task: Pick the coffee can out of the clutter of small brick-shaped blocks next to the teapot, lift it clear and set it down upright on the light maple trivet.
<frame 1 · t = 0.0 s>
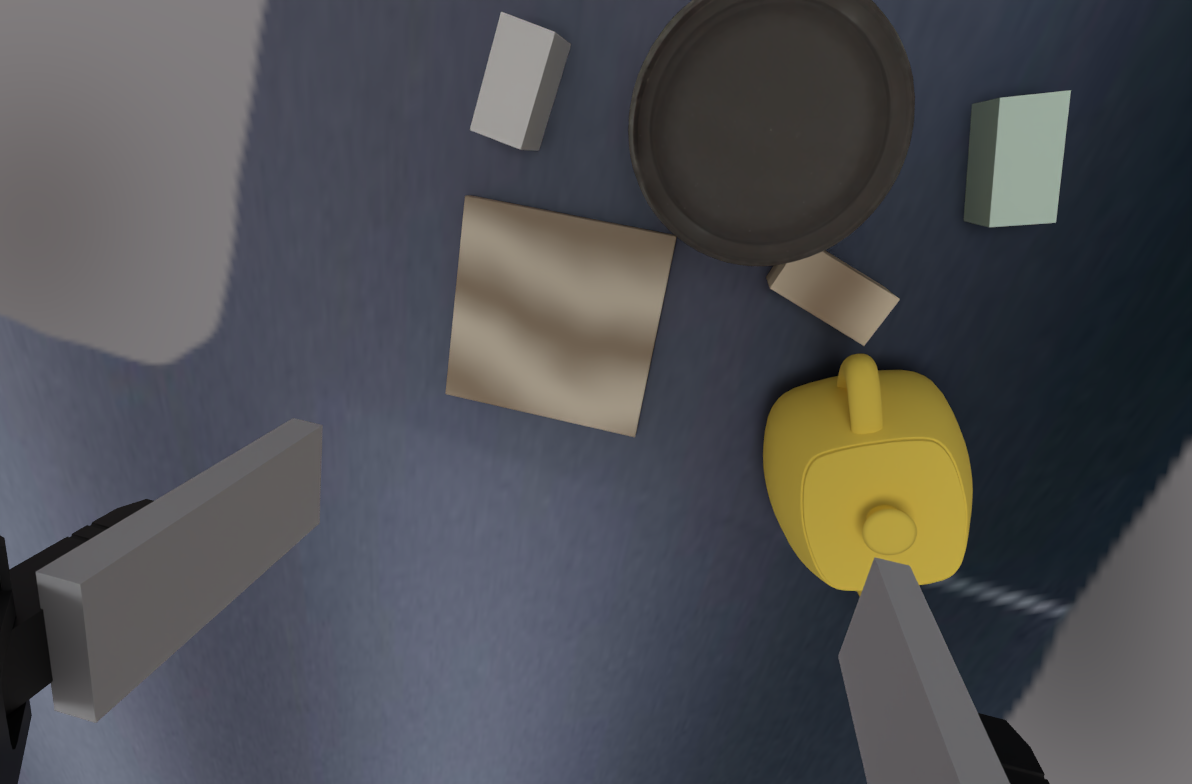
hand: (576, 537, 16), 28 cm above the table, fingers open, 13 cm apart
off-white brick: (531, 90, 40), on the table
coffee can: (751, 138, 38), on the table
beech brick: (824, 281, 40), on the table
teapot: (852, 456, 43), on the table
pale green brick: (997, 161, 37), on the table
trivet: (555, 318, 44), on the table
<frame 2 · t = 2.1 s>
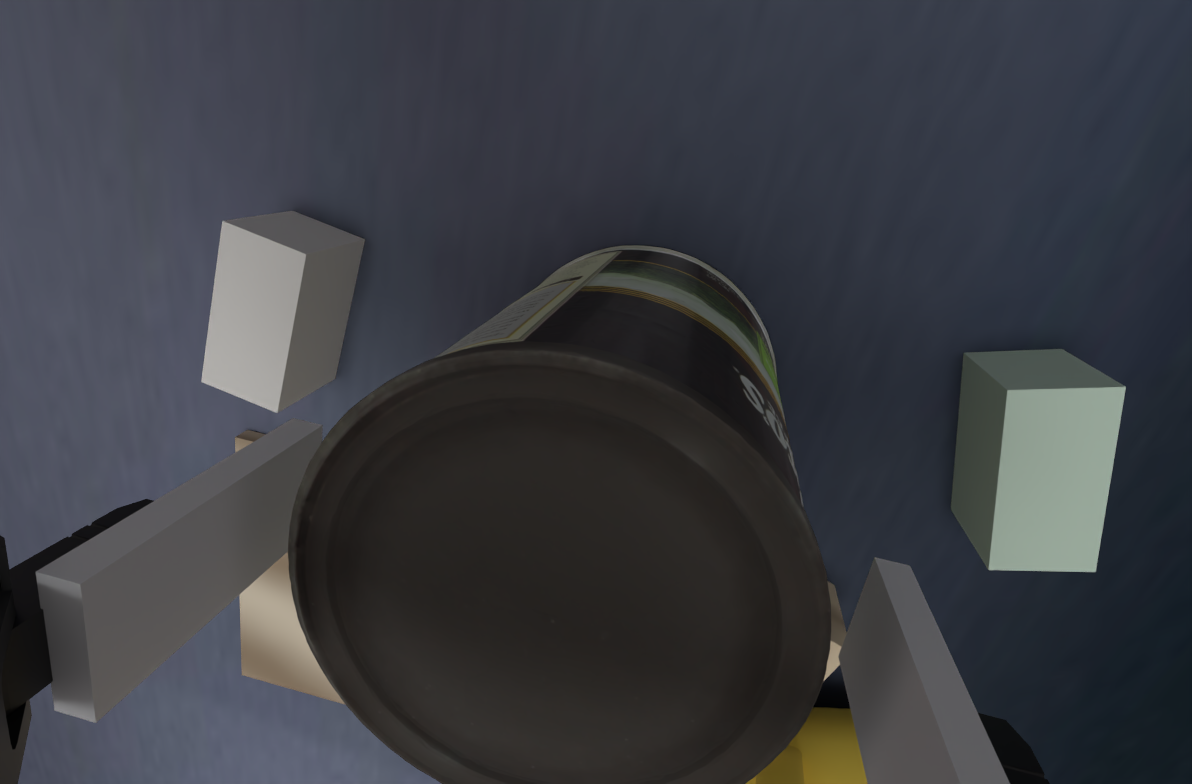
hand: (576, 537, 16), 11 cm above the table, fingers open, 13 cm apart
off-white brick: (316, 297, 27), on the table
coffee can: (635, 378, 26), on the table
beech brick: (748, 571, 28), on the table
pale green brick: (1002, 432, 24), on the table
trivet: (380, 589, 31), on the table
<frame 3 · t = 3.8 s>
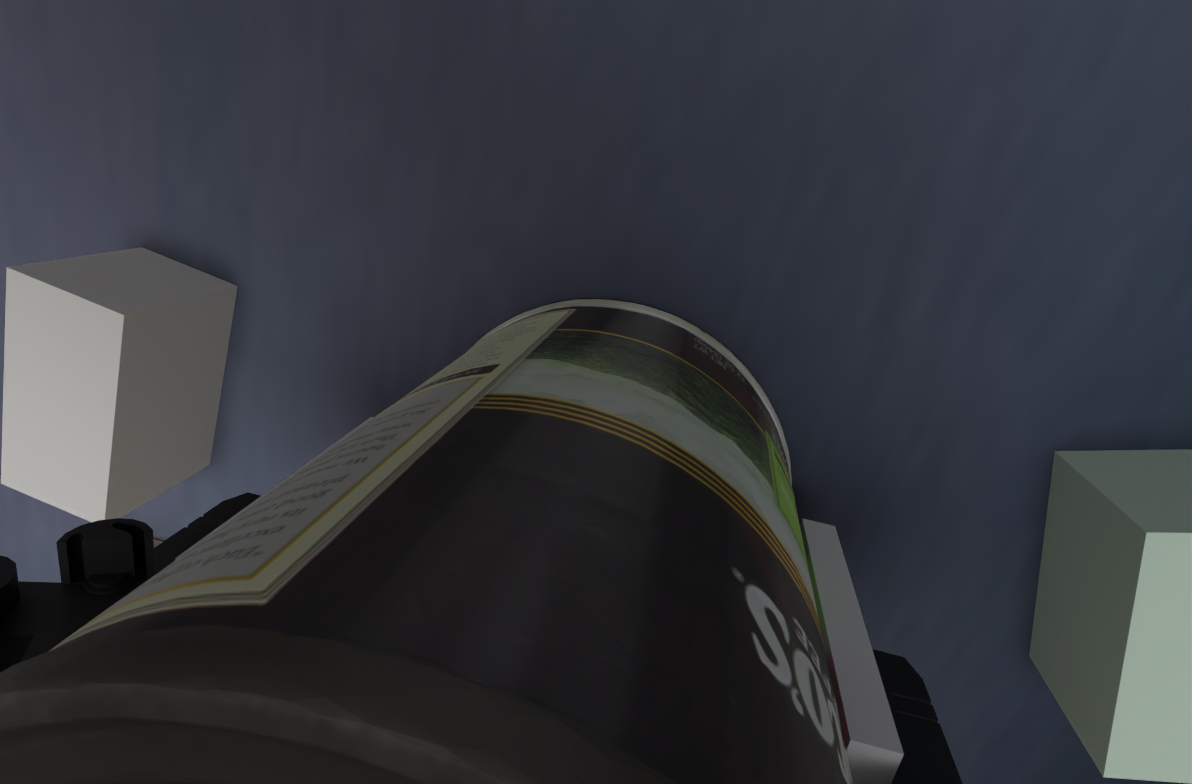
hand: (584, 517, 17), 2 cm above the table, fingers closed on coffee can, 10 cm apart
off-white brick: (180, 360, 20), on the table
coffee can: (600, 474, 19), on the table, touching gripper
pale green brick: (1104, 557, 17), on the table
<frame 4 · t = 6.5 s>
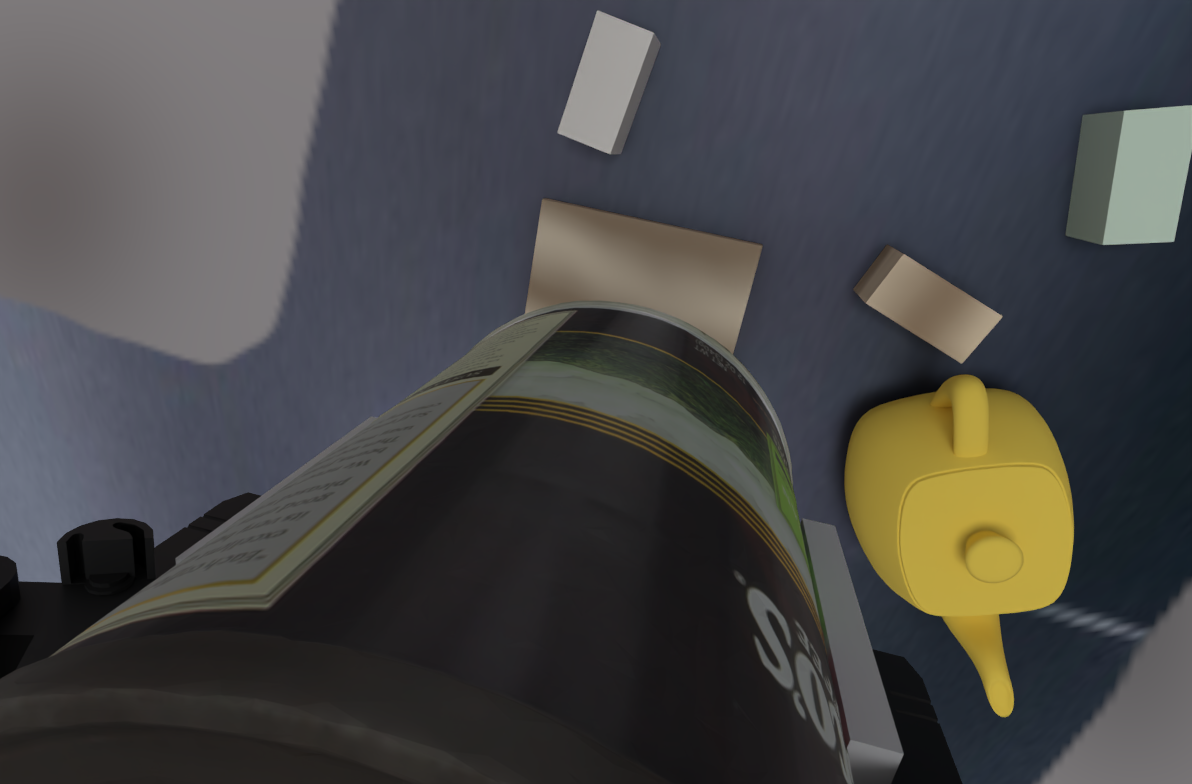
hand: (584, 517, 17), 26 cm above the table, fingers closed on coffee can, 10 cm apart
off-white brick: (615, 90, 38), on the table
coffee can: (601, 475, 19), point 24 cm above the table, touching gripper
beech brick: (913, 294, 39), on the table
teapot: (931, 473, 42), on the table
pale green brick: (1105, 174, 35), on the table
trivet: (629, 326, 42), on the table
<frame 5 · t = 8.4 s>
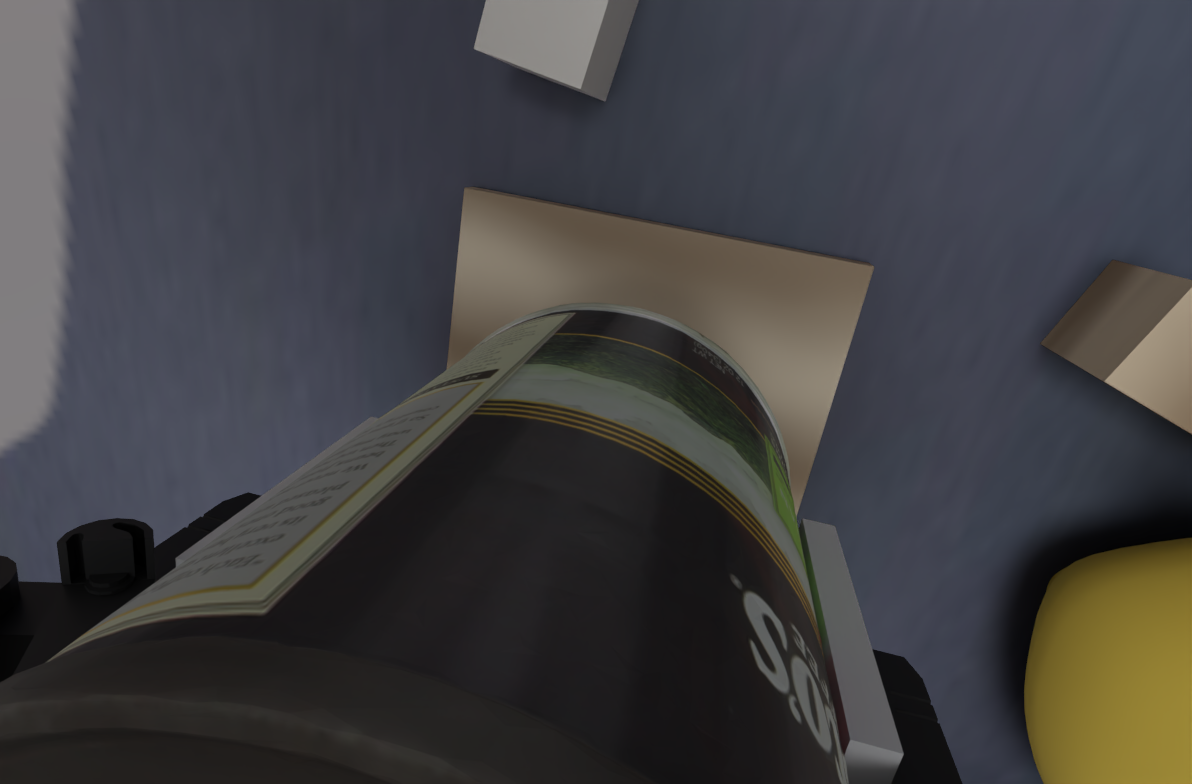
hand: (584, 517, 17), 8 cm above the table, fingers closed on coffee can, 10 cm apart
coffee can: (599, 477, 19), point 5 cm above the table, touching gripper
beech brick: (1157, 352, 21), on the table
teapot: (1165, 658, 24), on the table
trivet: (627, 408, 24), on the table
when the fingers open (4 cm above the table, at t = 9.6 s): coffee can drops 1 cm, resting on trivet.
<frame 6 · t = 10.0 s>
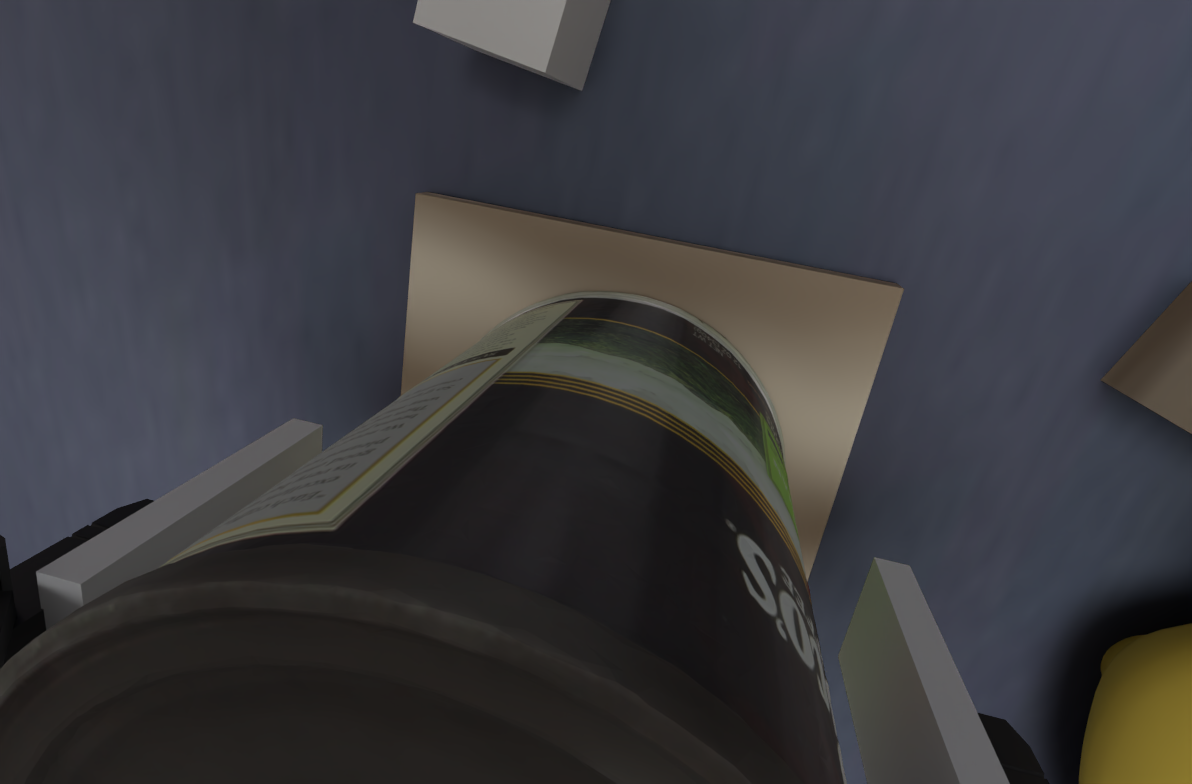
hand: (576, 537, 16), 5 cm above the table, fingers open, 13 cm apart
coffee can: (604, 457, 20), point 1 cm above the table, touching trivet
trivet: (611, 449, 21), on the table
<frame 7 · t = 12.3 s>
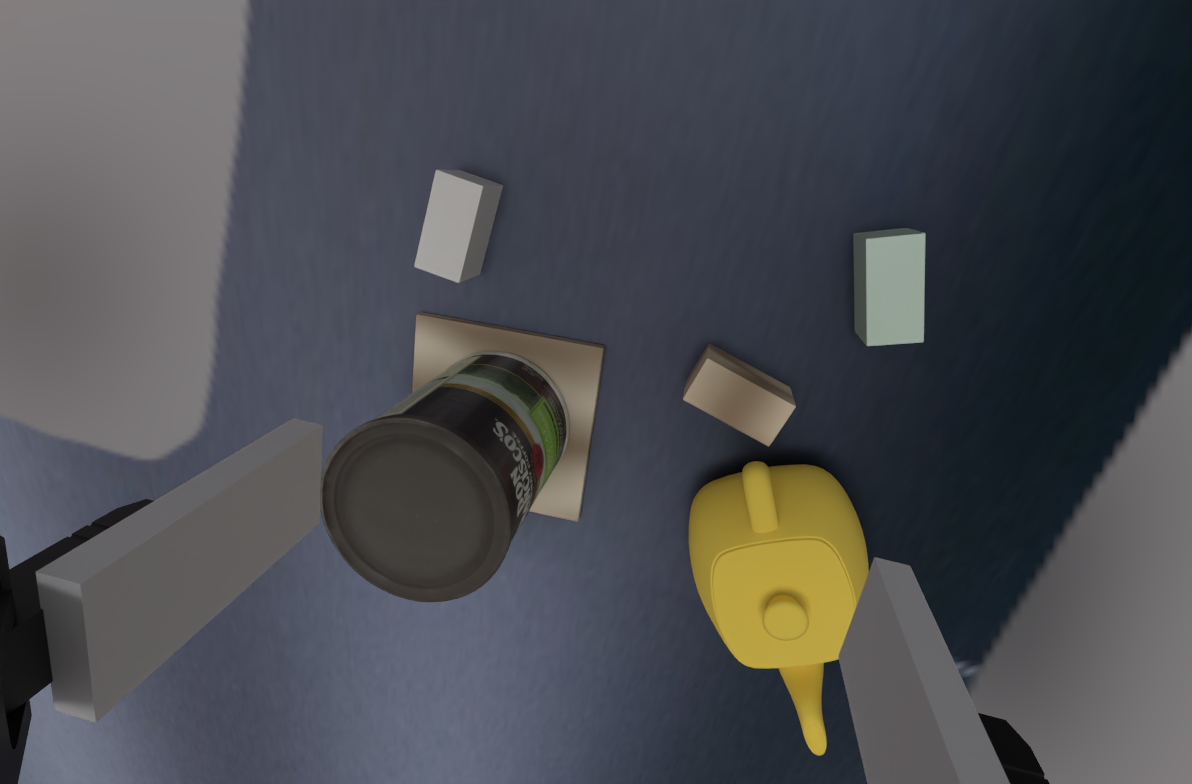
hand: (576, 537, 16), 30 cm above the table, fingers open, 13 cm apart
off-white brick: (470, 223, 45), on the table
coffee can: (498, 419, 48), point 1 cm above the table, touching trivet
beech brick: (737, 383, 45), on the table
teapot: (774, 535, 48), on the table
pale green brick: (879, 280, 41), on the table
trivet: (502, 417, 48), on the table
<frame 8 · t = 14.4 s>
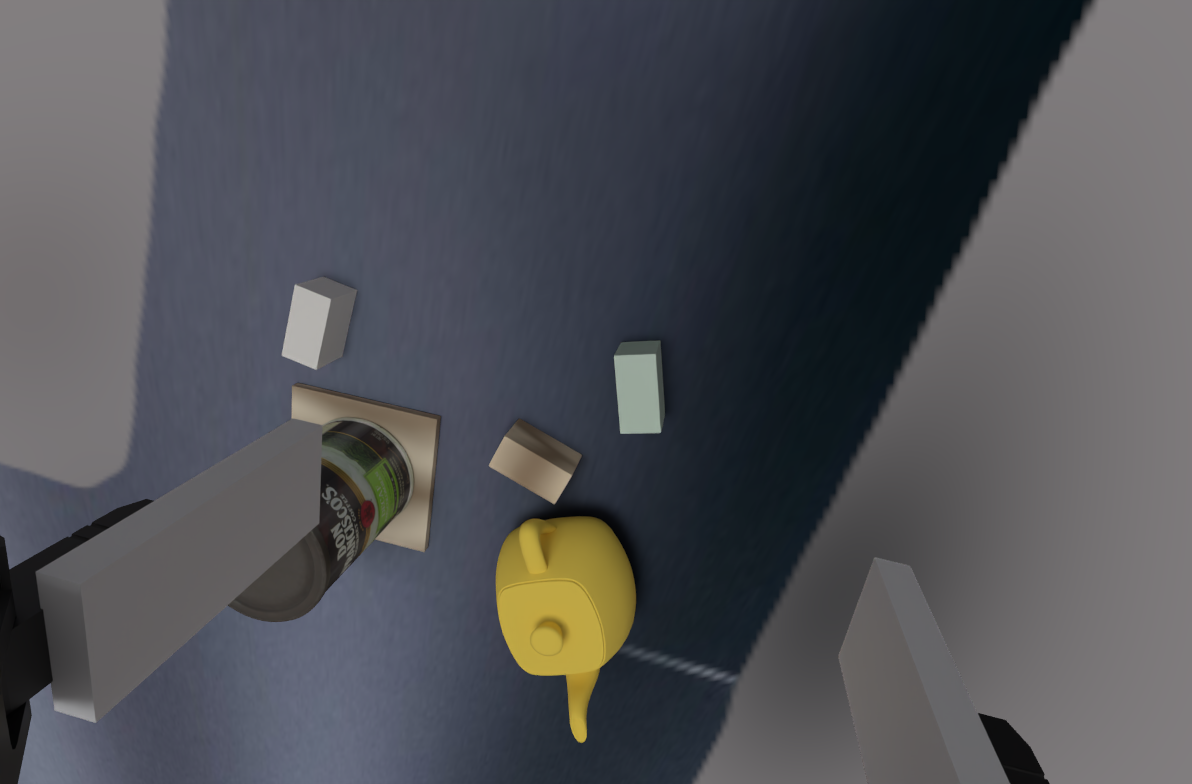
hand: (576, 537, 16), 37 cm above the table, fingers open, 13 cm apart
off-white brick: (333, 317, 56), on the table
coffee can: (360, 469, 60), point 1 cm above the table, touching trivet
beech brick: (542, 450, 57), on the table
teapot: (578, 567, 60), on the table
pale green brick: (643, 378, 53), on the table
trivet: (364, 467, 60), on the table
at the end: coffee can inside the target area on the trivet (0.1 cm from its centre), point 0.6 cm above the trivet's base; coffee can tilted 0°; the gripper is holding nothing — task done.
